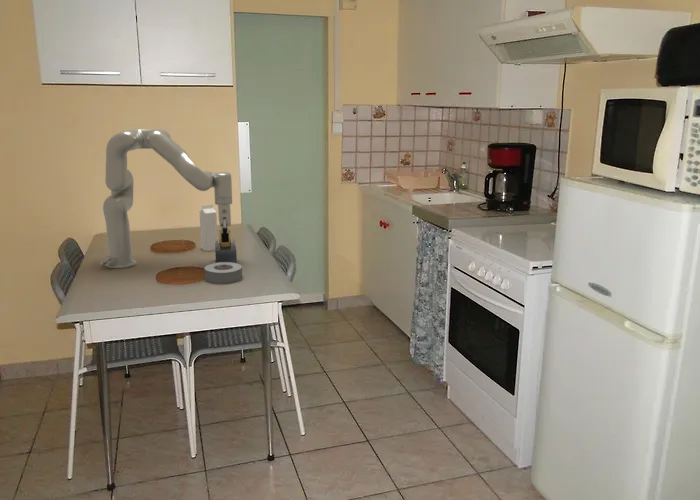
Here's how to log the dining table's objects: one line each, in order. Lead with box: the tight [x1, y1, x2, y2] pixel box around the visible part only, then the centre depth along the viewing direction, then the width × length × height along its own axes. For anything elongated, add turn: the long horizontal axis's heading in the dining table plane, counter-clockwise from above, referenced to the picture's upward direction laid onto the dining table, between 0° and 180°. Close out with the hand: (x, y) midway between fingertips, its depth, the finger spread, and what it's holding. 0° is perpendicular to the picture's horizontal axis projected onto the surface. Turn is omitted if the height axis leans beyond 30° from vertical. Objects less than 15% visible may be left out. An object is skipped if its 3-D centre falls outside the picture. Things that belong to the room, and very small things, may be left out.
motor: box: [214, 238, 238, 264], centre depth 271 cm, size 17×9×11 cm, turn 13°
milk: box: [199, 204, 219, 252], centre depth 293 cm, size 6×6×22 cm
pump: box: [218, 229, 232, 247], centre depth 268 cm, size 5×5×8 cm
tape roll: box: [204, 262, 243, 285], centre depth 249 cm, size 15×15×5 cm
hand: (225, 240), depth 269 cm, fingers open, 5 cm apart
